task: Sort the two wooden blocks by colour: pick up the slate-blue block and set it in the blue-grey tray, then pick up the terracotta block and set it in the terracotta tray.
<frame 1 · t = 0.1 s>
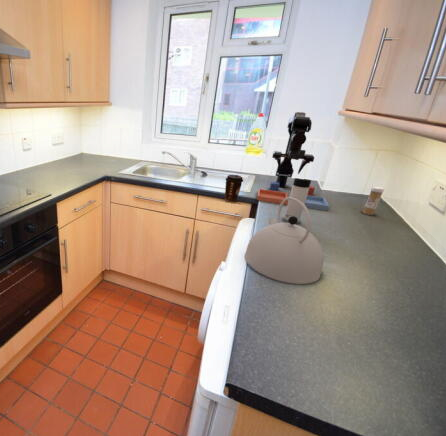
hand: (288, 172, 157), 15 cm above the countertop, tool pointing down, fingers open, 9 cm apart
sprinkles bottle: (368, 214, 145), on the countertop
kettle: (279, 262, 100), on the countertop
travel mug: (291, 221, 134), on the countertop
coffee cup: (230, 200, 159), on the countertop
terracotta block: (307, 194, 172), on the countertop
blue tray: (309, 203, 156), on the countertop
terracotta tray: (271, 198, 163), on the countertop
slate-blue block: (273, 190, 177), on the countertop
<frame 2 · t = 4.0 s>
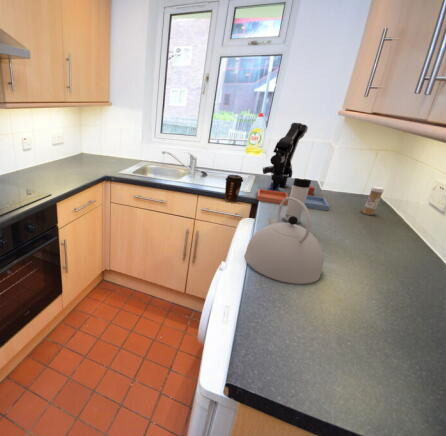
hand: (273, 188, 177), 1 cm above the countertop, tool pointing down, fingers closed on slate-blue block, 4 cm apart
slate-blue block: (273, 190, 177), on the countertop, touching gripper
everything else where it was.
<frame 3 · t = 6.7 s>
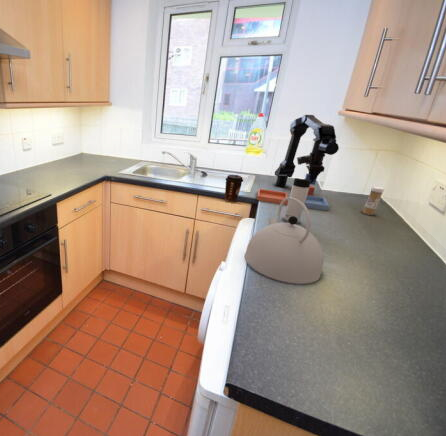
hand: (310, 181, 154), 11 cm above the countertop, tool pointing down, fingers closed on slate-blue block, 4 cm apart
slate-blue block: (309, 183, 155), point 10 cm above the countertop, touching gripper
everything else where it was.
when the fingers open (1 cm above the countertop, at t = 9.6 s): slate-blue block stays where it is, resting on blue tray.
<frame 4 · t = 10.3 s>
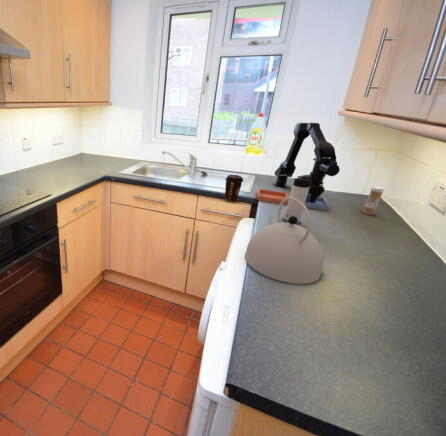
hand: (310, 200, 156), 2 cm above the countertop, tool pointing down, fingers open, 9 cm apart
slate-blue block: (309, 202, 156), resting on blue tray
everything else where it was.
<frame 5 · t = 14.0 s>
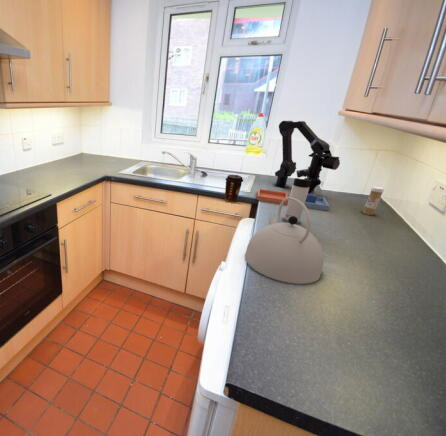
hand: (308, 192, 172), 1 cm above the countertop, tool pointing down, fingers closed on terracotta block, 4 cm apart
terracotta block: (307, 194, 172), on the countertop, touching gripper
everything else where it was.
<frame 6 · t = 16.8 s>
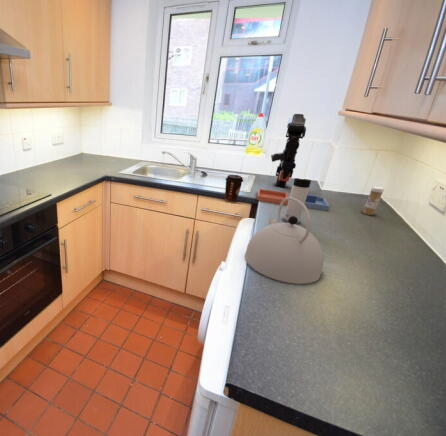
hand: (283, 178, 159), 11 cm above the countertop, tool pointing down, fingers closed on terracotta block, 4 cm apart
terracotta block: (283, 179, 160), point 10 cm above the countertop, touching gripper
everything else where it was.
when the fingers open (1 cm above the countertop, at t = 19.8 s): terracotta block stays where it is, resting on terracotta tray.
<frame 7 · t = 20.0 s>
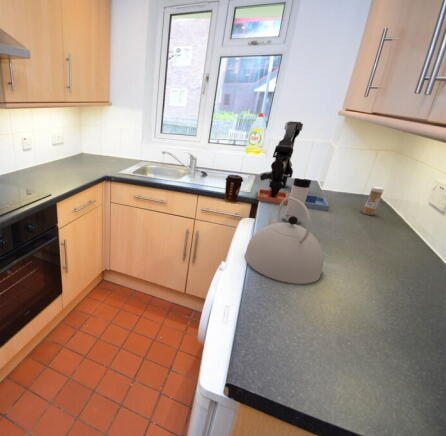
hand: (272, 196, 162), 1 cm above the countertop, tool pointing down, fingers open, 6 cm apart
terracotta block: (272, 197, 162), resting on terracotta tray
everything else where it was.
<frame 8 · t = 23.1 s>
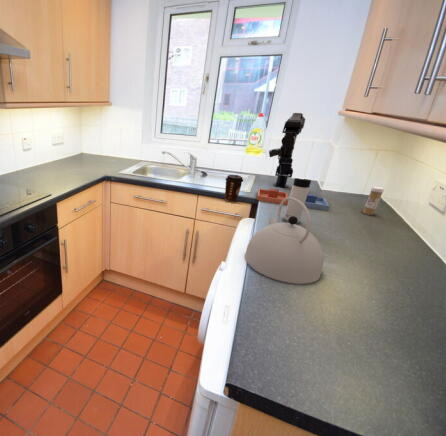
hand: (281, 173, 162), 13 cm above the countertop, tool pointing down, fingers open, 9 cm apart
nothing on the countertop moved.
at the end: slate-blue block inside the target area in the blue tray (0.1 cm from its centre), point 0.5 cm above the blue tray's base; terracotta block inside the target area in the terracotta tray (0.1 cm from its centre), point 0.5 cm above the terracotta tray's base; terracotta block tilted 0° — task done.
